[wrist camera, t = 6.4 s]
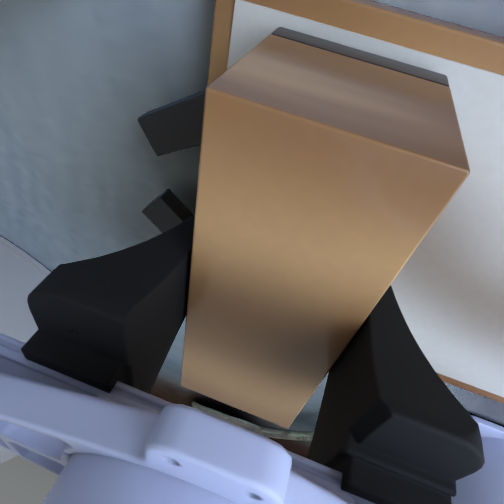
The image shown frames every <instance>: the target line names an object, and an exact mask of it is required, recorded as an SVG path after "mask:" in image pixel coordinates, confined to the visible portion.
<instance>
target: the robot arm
mask: <svg viewBox="0 0 504 504" xmlns="http://www.w3.org/2000/svg"><path fill="white" fill-rule="evenodd" d="M194 219H195V214H194V215H193V216H191V217H190V218H188V219H187V220H185V221H184V222H182V223H180V224H178V225H177V226H175V227H173V228H171V229H169V230H168V231H166V232H164V233H162V234H160V235H158V236H156V237H154V238H152V239H149V240H147V241H145V242H142V243H140V244H137V245H135V246H132V247H129V248H126V249H124V250H121V251H118V252H114V253H111V254H107V255H104V256H100V257H96V258H92V259H87V260H82V261H77V262H72V263H67V264H61V265H59V266H58V267H57V268H56V269H54V270H53V271H52V272H51V273H50V274H49V275H48V276H47V277H46V278H45V279H44V280H43V281H42V282H41V283H40V284H39V285H38V286H37V287H36V288H35V289H34V290H33V291H32V292H31V293H30V294H29V295H28V298H27V303H28V306H29V309H30V312H31V314H32V316H33V318H34V321H35V323H36V325H37V327H38V330H37V331H36V332H35V333H34V335H33V336H32V337H31V338H30V339H29V340H28V341H27V342H26V343H24V342H21V341H19V340H16V339H14V338H12V337H9V336H7V335H4V334H2V333H0V446H1V447H3V448H5V449H7V450H9V451H11V452H13V453H15V454H17V455H19V456H21V457H23V458H25V459H27V460H29V461H31V462H33V463H35V464H37V465H39V466H41V467H43V468H45V469H46V470H49V471H50V472H52V473H54V474H56V475H58V476H59V477H58V478H57V480H56V481H55V483H54V485H53V486H52V488H51V489H50V491H49V492H48V494H47V496H46V498H45V499H44V500H43V502H42V504H504V427H502V426H500V425H497V424H494V423H492V422H489V421H487V420H484V419H481V418H479V417H476V416H473V415H470V414H469V413H468V412H467V411H466V410H465V408H464V407H463V406H462V405H461V404H460V403H459V401H458V400H457V399H456V398H455V397H454V395H453V394H452V393H451V392H450V390H449V389H448V388H447V386H446V385H445V384H444V383H443V381H442V380H441V379H440V377H439V376H438V374H437V373H436V372H435V370H434V369H433V367H432V366H431V364H430V363H429V361H428V360H427V358H426V357H425V355H424V354H423V352H422V350H421V349H420V347H419V345H418V344H417V342H416V340H415V338H414V337H413V335H412V333H411V331H410V329H409V327H408V325H407V323H406V321H405V319H404V316H403V314H402V312H401V310H400V307H399V305H398V302H397V300H396V297H395V295H394V292H393V289H392V286H391V285H390V286H389V288H388V289H387V290H386V292H385V293H384V295H383V296H382V297H381V299H380V300H379V302H378V303H377V304H376V306H375V307H374V309H373V310H372V311H371V313H370V314H369V316H368V317H367V318H366V320H365V321H364V323H363V324H362V325H361V327H360V328H359V330H358V331H357V332H356V334H355V335H354V337H353V338H352V339H351V341H350V342H349V344H348V345H347V346H346V348H345V349H344V351H343V352H342V353H341V355H340V356H339V358H338V359H337V360H336V362H335V363H334V365H333V366H332V368H331V369H330V370H329V374H328V378H327V383H326V387H325V391H324V395H323V399H322V403H321V408H320V412H319V415H318V419H317V423H316V427H315V431H314V435H313V438H312V442H311V445H310V449H309V453H308V456H307V458H304V457H302V456H300V455H297V454H295V453H292V452H290V451H287V450H286V449H285V448H284V447H283V446H282V445H280V444H278V443H276V442H275V441H273V440H271V439H269V438H267V437H265V436H262V435H260V434H257V433H255V432H252V431H250V430H247V429H245V428H243V427H240V426H238V425H235V424H233V423H230V422H228V421H225V420H223V419H221V418H218V417H216V416H213V415H211V414H208V413H206V412H203V411H201V410H198V409H196V408H193V407H189V406H186V405H183V404H173V403H170V402H168V401H165V400H163V399H160V398H158V397H156V396H153V395H151V394H150V392H151V389H152V387H153V385H154V383H155V380H156V378H157V376H158V373H159V371H160V369H161V367H162V365H163V363H164V360H165V358H166V356H167V354H168V352H169V350H170V347H171V345H172V343H173V341H174V339H175V337H176V335H177V333H178V331H179V329H180V327H181V325H182V323H183V321H184V319H185V317H186V314H187V302H188V290H189V279H190V267H191V255H192V243H193V231H194Z"/></svg>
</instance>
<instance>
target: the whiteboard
mask: <svg viewBox="0 0 504 504" xmlns="http://www.w3.org/2000/svg"><path fill="white" fill-rule="evenodd" d="M278 27H284V28H287V29H290V30H294V31H297V32H301V33H304V34H307V35H311V36H314V37H318V38H321V39H325V40H328V41H331V42H335V43H338V44H342V45H345V46H348V47H352V48H355V49H359V50H362V51H365V52H369V53H372V54H376V55H379V56H382V57H386V58H389V59H393V60H396V61H399V62H403V63H406V64H410V65H413V66H416V67H420V68H423V69H427V70H430V71H434V72H437V73H440V74H444V75H446V76H447V78H448V82H449V86H450V87H449V88H450V89H451V94H452V98H453V102H454V106H455V110H456V114H457V118H458V122H459V126H460V130H461V134H462V138H463V142H464V146H465V151H466V155H467V159H468V163H469V167H470V174H469V175H468V177H467V178H466V179H465V181H464V182H463V184H462V185H461V186H460V188H459V189H458V191H457V192H456V193H455V195H454V196H453V198H452V199H451V201H450V202H449V203H448V205H447V206H446V208H445V209H444V210H443V212H442V213H441V215H440V216H439V217H438V219H437V220H436V222H435V223H434V224H433V226H432V227H431V229H430V230H429V231H428V233H427V234H426V236H425V237H424V238H423V240H422V241H421V243H420V244H419V245H418V247H417V248H416V250H415V251H414V252H413V254H412V255H411V257H410V258H409V259H408V261H407V262H406V264H405V265H404V266H403V268H402V269H401V271H400V272H399V273H398V275H397V276H396V278H395V279H394V280H393V282H392V283H391V286H392V289H393V292H394V295H395V297H396V300H397V302H398V305H399V307H400V310H401V312H402V314H403V316H404V319H405V321H406V323H407V325H408V327H409V329H410V331H411V333H412V335H413V337H414V338H415V340H416V342H417V344H418V345H419V347H420V349H421V350H422V352H423V354H424V355H425V357H426V358H427V360H428V361H429V363H430V364H431V366H432V367H433V369H434V370H435V372H436V373H437V374H438V376H439V377H440V379H441V380H442V381H444V382H447V383H449V384H452V385H455V386H457V387H460V388H463V389H465V390H468V391H471V392H473V393H476V394H479V395H481V396H484V397H487V398H489V399H492V400H495V401H497V402H500V403H503V404H504V38H503V37H500V36H496V35H493V34H489V33H485V32H482V31H478V30H475V29H471V28H468V27H464V26H460V25H457V24H453V23H450V22H446V21H442V20H439V19H435V18H432V17H428V16H424V15H421V14H417V13H414V12H410V11H406V10H403V9H399V8H396V7H392V6H388V5H385V4H381V3H378V2H374V1H371V0H215V6H214V18H213V29H212V41H211V52H210V64H209V75H208V85H210V84H211V83H212V82H213V81H214V80H216V79H217V78H218V77H219V76H220V75H222V74H223V73H224V72H225V71H226V70H228V69H229V68H230V67H231V66H232V65H234V64H235V63H236V62H237V61H238V60H240V59H241V58H242V57H243V56H244V55H246V54H247V53H248V52H249V51H250V50H251V49H253V48H254V47H255V46H256V45H257V44H259V43H260V42H261V41H262V40H263V39H265V38H266V37H267V36H268V35H270V34H271V33H272V32H273V31H274V30H276V29H277V28H278Z"/></svg>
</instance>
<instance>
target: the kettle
mask: <svg viewBox="0 0 504 504" xmlns="http://www.w3.org/2000/svg"><path fill="white" fill-rule="evenodd" d="M50 273H51V272H50V271H49V270H48V269H47V268H45V267H44V266H43V265H42V264H40V263H39V262H38V261H36V260H35V259H34V258H32V257H31V256H30V255H28V254H27V253H25V252H24V251H23V250H21V249H20V248H18V247H17V246H15V245H14V244H12V243H11V242H9V241H7V240H6V239H4V238H3V237H1V236H0V333H2V334H4V335H7V336H9V337H12V338H14V339H16V340H19V341H21V342H24V343H26V342H27V341H28V340H29V339H30V338H31V337H32V336H33V335H34V333H35V332H36V331H37V330H38V327H37V325H36V323H35V321H34V318H33V316H32V314H31V312H30V309H29V306H28V303H27V298H28V295H29V294H30V293H31V292H32V291H33V290H34V289H35V288H36V287H37V286H38V285H39V284H40V283H41V282H42V281H43V280H44V279H45V278H46V277H47V276H48V275H49V274H50ZM15 456H17V454H15V453H13V452H11V451H9V450H7V449H5V448H3V447H1V446H0V463H2V462H5V461H7V460H9V459H11V458H13V457H15Z"/></svg>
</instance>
